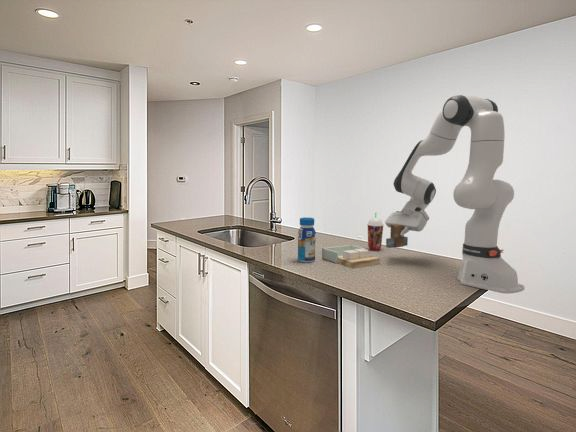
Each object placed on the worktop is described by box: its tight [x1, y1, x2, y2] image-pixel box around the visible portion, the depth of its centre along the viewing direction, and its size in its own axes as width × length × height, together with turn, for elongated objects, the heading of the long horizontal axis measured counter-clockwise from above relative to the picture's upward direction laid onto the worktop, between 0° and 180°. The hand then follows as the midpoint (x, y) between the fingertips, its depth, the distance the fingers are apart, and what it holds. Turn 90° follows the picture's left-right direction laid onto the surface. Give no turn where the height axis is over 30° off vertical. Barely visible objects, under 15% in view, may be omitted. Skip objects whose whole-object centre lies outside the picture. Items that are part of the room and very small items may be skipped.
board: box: [337, 255, 381, 269], centre depth 167 cm, size 10×16×2 cm, turn 121°
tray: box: [321, 244, 367, 264], centre depth 175 cm, size 11×18×5 cm, turn 121°
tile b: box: [343, 250, 359, 260], centre depth 167 cm, size 5×5×3 cm
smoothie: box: [367, 212, 384, 252], centre depth 196 cm, size 8×8×20 cm
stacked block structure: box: [385, 224, 409, 249], centre depth 168 cm, size 4×12×10 cm, turn 121°
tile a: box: [354, 248, 370, 258], centre depth 170 cm, size 5×5×3 cm
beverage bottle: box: [297, 217, 317, 263], centre depth 170 cm, size 8×8×20 cm
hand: (396, 234), depth 168 cm, fingers closed on stacked block structure, 3 cm apart
